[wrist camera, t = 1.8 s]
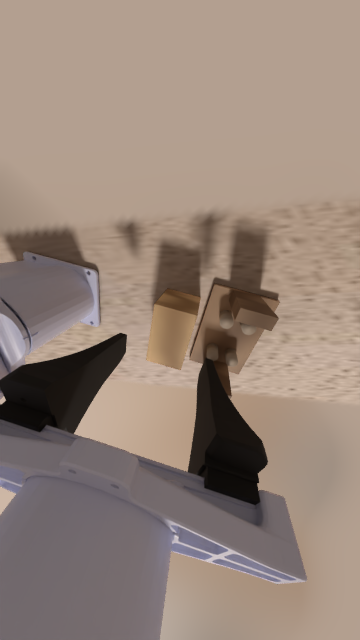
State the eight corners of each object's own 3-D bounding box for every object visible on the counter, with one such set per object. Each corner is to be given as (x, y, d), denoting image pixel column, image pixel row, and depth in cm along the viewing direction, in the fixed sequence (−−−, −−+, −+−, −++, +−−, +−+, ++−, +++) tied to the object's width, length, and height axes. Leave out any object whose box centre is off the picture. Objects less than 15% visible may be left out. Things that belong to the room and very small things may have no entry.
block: (158, 335, 22) (146, 360, 18) (167, 288, 19) (154, 303, 14) (186, 343, 22) (180, 370, 17) (200, 297, 18) (197, 315, 14)
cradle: (189, 357, 23) (184, 390, 18) (214, 283, 17) (215, 301, 12) (237, 371, 22) (245, 408, 17) (277, 299, 17) (305, 325, 12)
